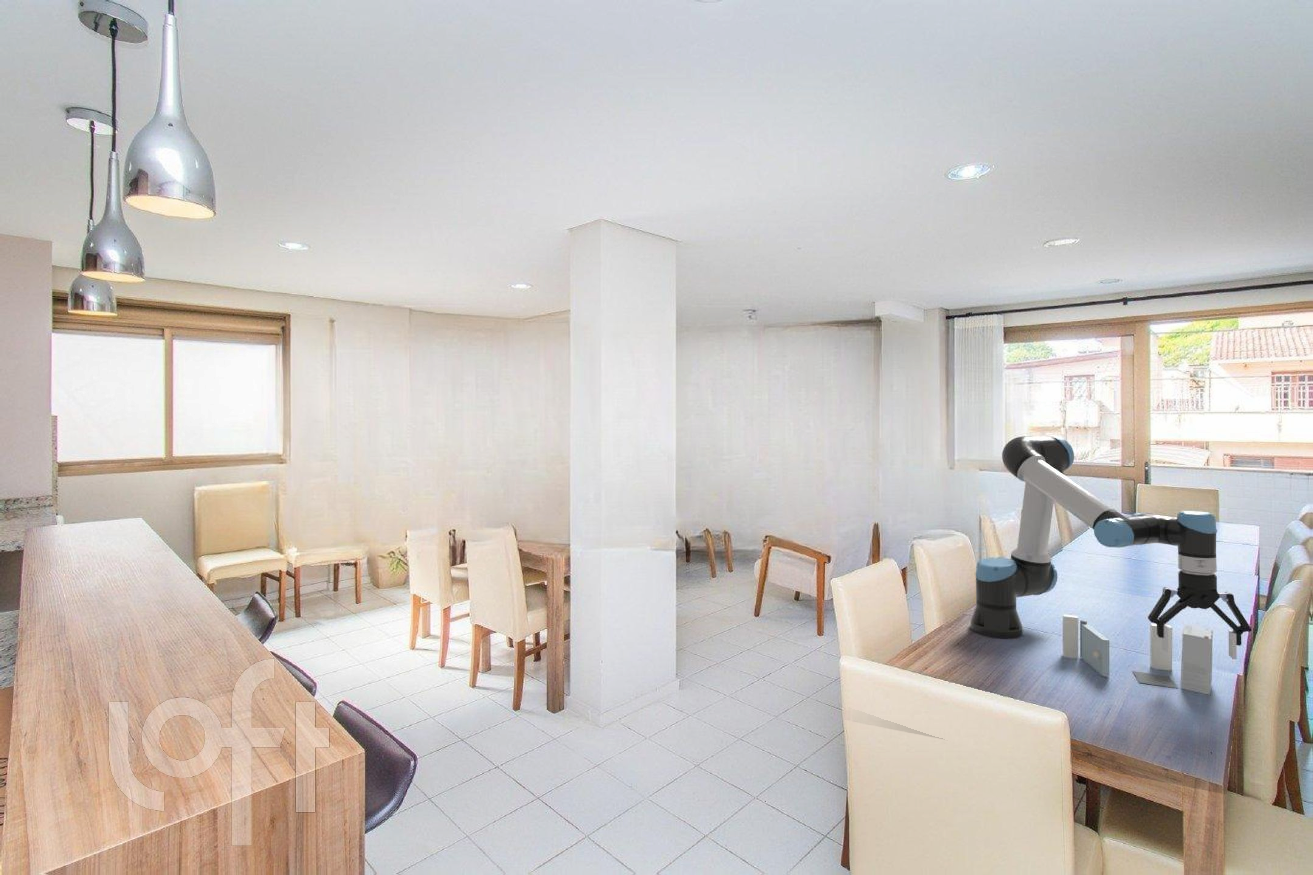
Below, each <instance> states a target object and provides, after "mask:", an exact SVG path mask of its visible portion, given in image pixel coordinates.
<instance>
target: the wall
mask: <svg viewBox="0 0 1313 875" xmlns="http://www.w3.org/2000/svg"><path fill="white" fill-rule="evenodd" d="M1166 626H1167V627H1168V652H1165V651H1164V650H1163V649H1162V638H1160V637H1158V635H1157V624H1155V623H1152V622H1150V627H1149V629H1150V634H1149V635H1150V636H1149V638H1150V639H1149V641H1150V644H1149V645H1150V647H1149V648H1150V649H1149V650H1150V652H1149V653H1150V654H1149V655H1150V657H1149V658H1150V659H1149V661H1150V663H1149V665H1150V667H1151V669H1154V670H1155V669H1156V670H1164V671H1169V672H1170V671H1171V672H1172V671H1173V627H1172V626H1171V625H1168V624H1166ZM1062 655H1063V658H1071V659H1079V617H1078V615H1071V614H1062Z"/></svg>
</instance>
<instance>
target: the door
mask: <svg viewBox="0 0 1313 875" xmlns="http://www.w3.org/2000/svg"><path fill="white" fill-rule="evenodd" d="M1079 624H1080V625H1079V627H1080V628H1079V630H1080V634H1079V636H1080V638H1079V643H1080V644H1079V645H1080V646H1079V647H1080V650H1079V654H1080V655H1079V657H1080V658H1081V659H1082V660H1083V661H1085V662H1086V663H1087V664H1088V665H1089V666H1090V667H1091V668H1093V669H1094V670H1095V671H1096V672H1097V673H1098V674H1100V676H1102V677H1107V678H1110V639H1108V638H1107V637H1106V636H1104V635H1103V634H1101V633H1100V632H1099V631H1097V630H1096V629H1095V628H1093V627H1092V626H1091V625H1090V624H1088V621H1087V620H1080V621H1079Z"/></svg>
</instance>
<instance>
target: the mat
mask: <svg viewBox="0 0 1313 875" xmlns="http://www.w3.org/2000/svg"><path fill="white" fill-rule="evenodd" d="M1132 674H1133V675H1134V677H1135V678H1136V681H1138V683H1139V684H1142V685H1150V686H1157V687H1165V688H1172V689H1179V687H1178V686H1177V684H1176V683H1175V681H1173V679H1172V678H1171V676H1170V675H1165V674H1159V673H1158V674H1157V673H1150V672H1149V673H1148V672H1144V671H1143V672H1142V671H1136V670H1133V671H1132Z"/></svg>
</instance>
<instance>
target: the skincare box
mask: <svg viewBox="0 0 1313 875" xmlns="http://www.w3.org/2000/svg"><path fill="white" fill-rule="evenodd" d="M1213 634H1214V631H1213V629H1209V628H1205V627H1200V626H1199V627H1198V626H1192V625H1188V624H1184V626H1183V629H1182V642H1181V643H1182V644H1181V646H1182V647H1181V665H1180V667H1181V668H1180V669H1181V670H1180V689H1183V690H1186V691H1187V690H1188V691H1192V692H1197V693H1200V694H1203V695H1205V694H1206V695H1208V696H1209V695H1211V690H1212V680H1213V679H1212V677H1213V675H1212V674H1213Z"/></svg>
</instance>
